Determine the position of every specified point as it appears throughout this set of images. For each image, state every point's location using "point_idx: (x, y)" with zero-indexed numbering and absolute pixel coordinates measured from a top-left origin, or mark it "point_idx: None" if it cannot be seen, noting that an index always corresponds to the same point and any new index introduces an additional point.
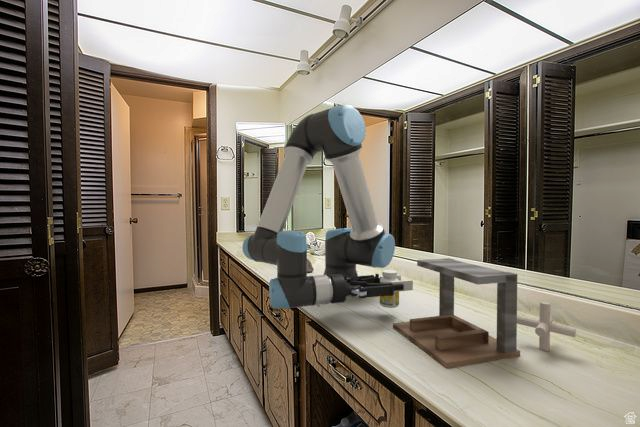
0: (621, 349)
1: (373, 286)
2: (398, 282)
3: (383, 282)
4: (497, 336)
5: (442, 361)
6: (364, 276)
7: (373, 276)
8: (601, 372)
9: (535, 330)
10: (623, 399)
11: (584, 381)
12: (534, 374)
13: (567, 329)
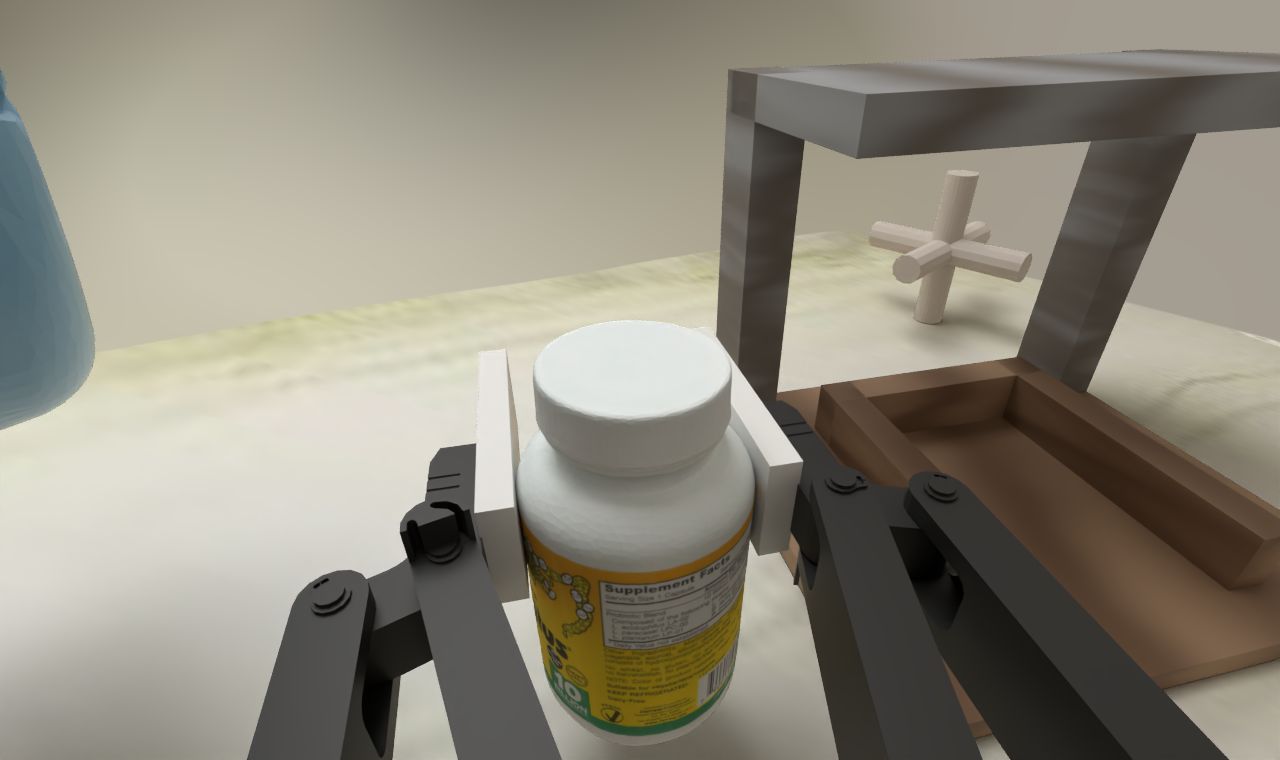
0: (866, 243)
1: (1144, 748)
2: (765, 413)
3: (713, 539)
4: (1076, 351)
5: None
6: (318, 755)
7: (371, 589)
8: (1034, 298)
9: (1020, 269)
10: (1180, 322)
11: (1123, 333)
12: (1165, 391)
13: (981, 231)
